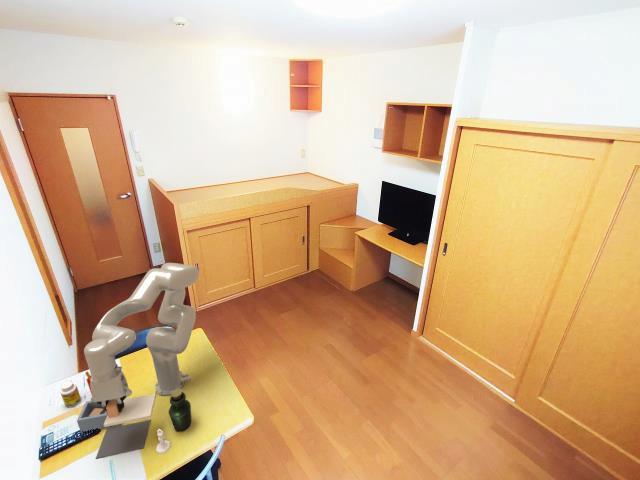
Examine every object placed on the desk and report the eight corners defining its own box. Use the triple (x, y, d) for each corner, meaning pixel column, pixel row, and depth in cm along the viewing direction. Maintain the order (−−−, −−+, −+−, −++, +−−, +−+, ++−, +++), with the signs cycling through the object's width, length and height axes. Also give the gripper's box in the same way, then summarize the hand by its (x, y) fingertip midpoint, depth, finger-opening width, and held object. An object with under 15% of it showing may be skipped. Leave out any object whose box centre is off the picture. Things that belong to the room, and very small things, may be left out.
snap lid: (156, 395, 124) (153, 384, 122) (150, 417, 115) (147, 405, 113) (113, 403, 120) (109, 391, 118) (104, 427, 111) (100, 414, 109)
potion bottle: (183, 413, 133) (177, 381, 126) (197, 421, 130) (192, 388, 123) (167, 429, 126) (160, 396, 119) (182, 437, 123) (175, 404, 116)
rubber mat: (150, 420, 129) (150, 419, 129) (144, 448, 119) (143, 447, 119) (106, 429, 125) (106, 428, 125) (95, 459, 115) (95, 458, 114)
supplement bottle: (64, 410, 132) (57, 392, 129) (65, 400, 137) (59, 383, 133) (81, 404, 135) (74, 386, 131) (81, 394, 140) (75, 377, 136)
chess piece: (159, 441, 121) (155, 423, 117) (172, 440, 122) (168, 422, 118) (154, 454, 117) (149, 436, 113) (167, 453, 117) (163, 435, 113)
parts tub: (127, 406, 135) (124, 394, 132) (121, 425, 127) (117, 413, 124) (90, 413, 131) (85, 401, 129) (81, 433, 123) (76, 421, 121)
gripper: (133, 360, 114) (142, 397, 121) (81, 368, 110) (94, 406, 117) (127, 375, 108) (137, 414, 115) (72, 385, 103) (86, 424, 110)
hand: (115, 409), depth 116 cm, fingers closed on snap lid, 3 cm apart
